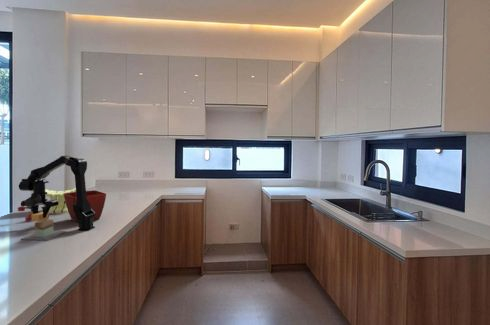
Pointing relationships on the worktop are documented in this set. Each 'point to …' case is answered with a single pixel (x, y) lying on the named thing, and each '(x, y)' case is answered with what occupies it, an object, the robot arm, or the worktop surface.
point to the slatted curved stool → (61, 200)
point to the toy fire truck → (28, 214)
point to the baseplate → (32, 237)
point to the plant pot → (93, 198)
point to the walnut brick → (44, 224)
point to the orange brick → (39, 216)
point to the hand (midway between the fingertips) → (40, 217)
